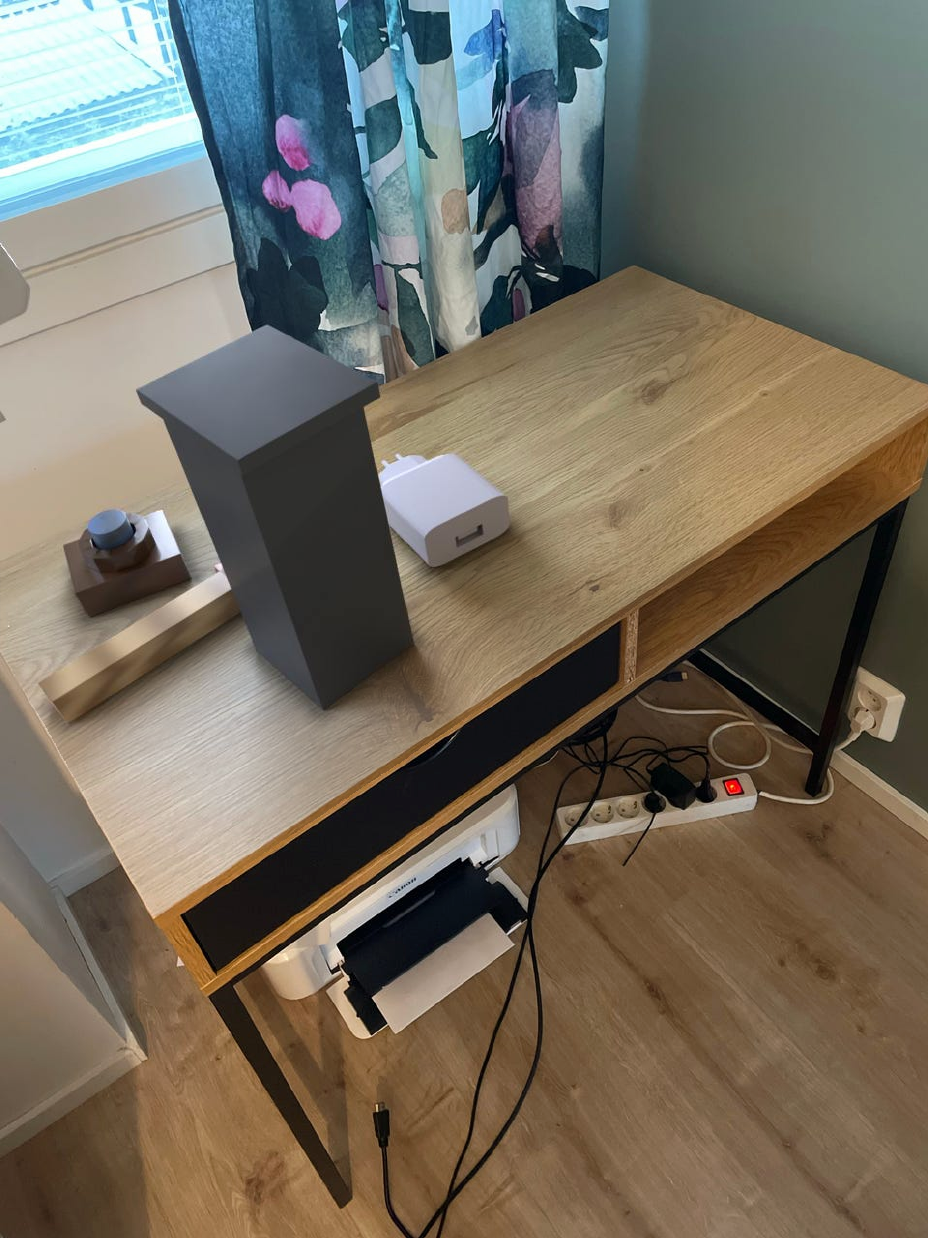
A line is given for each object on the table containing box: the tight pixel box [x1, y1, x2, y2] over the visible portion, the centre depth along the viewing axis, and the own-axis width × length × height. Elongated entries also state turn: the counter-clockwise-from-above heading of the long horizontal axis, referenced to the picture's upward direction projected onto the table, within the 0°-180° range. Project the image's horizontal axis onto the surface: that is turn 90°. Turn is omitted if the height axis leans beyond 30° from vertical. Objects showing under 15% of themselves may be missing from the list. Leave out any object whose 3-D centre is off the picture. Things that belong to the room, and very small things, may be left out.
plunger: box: [86, 508, 134, 550], centre depth 84 cm, size 4×4×2 cm
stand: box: [135, 324, 415, 711], centre depth 69 cm, size 11×13×26 cm
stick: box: [37, 561, 241, 724], centre depth 80 cm, size 22×5×3 cm, turn 133°
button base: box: [62, 509, 192, 618], centre depth 86 cm, size 10×8×5 cm
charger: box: [378, 453, 511, 568], centre depth 88 cm, size 5×9×15 cm
